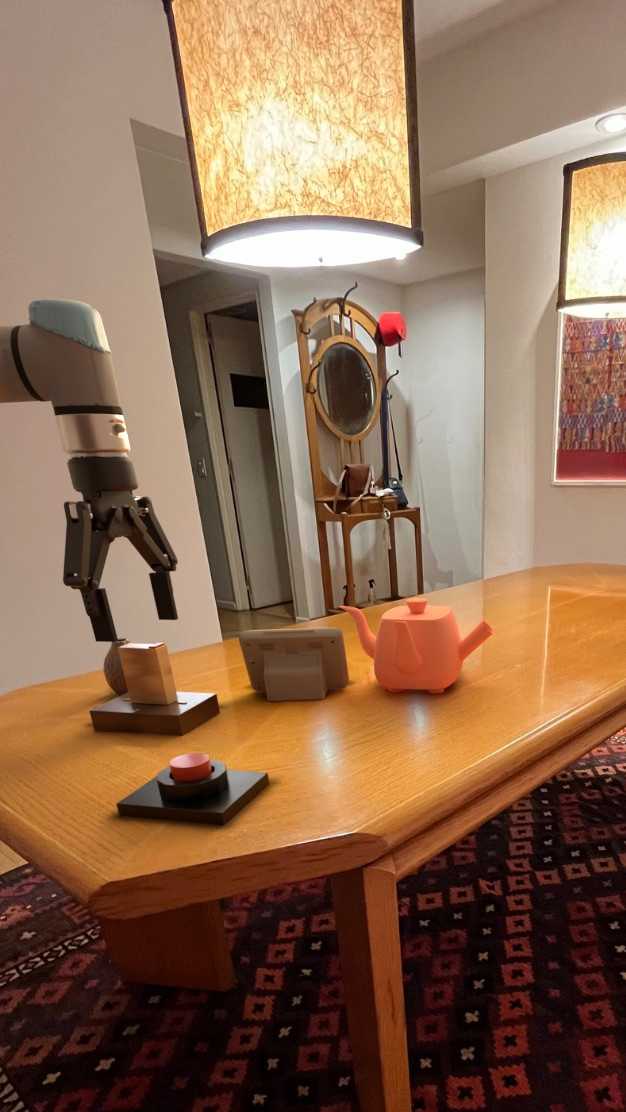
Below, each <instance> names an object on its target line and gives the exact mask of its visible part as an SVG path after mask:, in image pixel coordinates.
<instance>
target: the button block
mask: <svg viewBox="0 0 626 1112" xmlns="http://www.w3.org/2000/svg"><path fill="white" fill-rule="evenodd" d="M210 763H211V768H212V774H210V775H209V776H207V777H204V778H201V779H198V780H191V781H174V780H173V778H172V774H171V769H170V765H169V766H167V767H165V768H163V769H162V770H161V771H158V773H157V775H156V776H155V777H153V778H152V779H151V780H149V781H148V782H146V783H144V784H143V785H142V786H140V787H139V788H137V789H136V790H134V791H133V792H131V793H130V794H128V795H127V796H126V797H124V798H122V799H121V800H119V801H118V802H116V809H117V811H118V816H119V817H129V818H140V819H150V820H159V821H160V820H161V821H170V822H171V821H172V822H181V823H183V822H184V823H193V824H204V825H216V826H226V825H227V824H228V823H229V822H230V821H231V820H232V819H233V818H234V817H236V816H237V814H239V813H240V812H241V811H242V810H243V809H244V808H245V807H246V806H247V805H249V804H250V803H251V802H252V801H253V800H255V798H256V797H257V796H258V795H259V794H261V793H262V791H264V790H265V789H266V788H267V787H268V786H269V785H270V778H269V773H268V772H264V771H252V770H237V769H227V764H226V763H225V762H222V761H219V760H217V759H210Z"/></svg>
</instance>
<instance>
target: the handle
mask: <svg viewBox="0 0 626 1112" xmlns="http://www.w3.org/2000/svg"><path fill="white" fill-rule="evenodd" d="M118 651H119V655H120V659H121V663H122V667H123V671H124V676H125V680H126V684H127V688H128V692H129V696H130V700H131V703H143V704H162V705H169V704H170V703H172V702H174V701H176V700H178V698H177V693H176V692H177V688H176V683H175V679H174V674H173V669H172V664H171V661H170V655H169V651H168V646H167V644H165V642H157V643H133V642H130V643H129V644H126V645H123V646H121V647H118Z"/></svg>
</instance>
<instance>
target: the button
mask: <svg viewBox="0 0 626 1112" xmlns="http://www.w3.org/2000/svg"><path fill="white" fill-rule="evenodd" d="M210 760H211V758H210V756H209V755H208V754H206V753H201V752H191V753H185V754H181V755H178V756H176V757H173V758H172V759H170V760H169V766H170V769H171V774H172V778H173V780H174V781H191V780H198V779H201V778H204V777H207V776H209V775H210V774H212V768H211V763H210Z"/></svg>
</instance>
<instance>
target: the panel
mask: <svg viewBox="0 0 626 1112" xmlns="http://www.w3.org/2000/svg"><path fill="white" fill-rule="evenodd" d="M176 693H177V698H178V700H176V701H174V702H172V703H170V704H169V705H162V704H143V703H131V700H130V696H129V692H128V693H126V694H123V695H119V696H117V697H115V698H113V699H111V700H108V701H106V702H104V703H102V704H100V705H98V706H96V707H94V708H92V709H89V710H88V712H89V715H90V718H91V722H92V726H93V730H94V731H95V732H97V731H98V732H114V733H128V734H129V733H130V734H147V735H149V734H150V735H162V736H163V735H164V736H177V737H178V736H180V737H184V736H185V735H187V734H188V733H190V732H192V731H193V730H195V729H197V728H198V727H200V726H201V725H202V724H204V723H206V722H208V721H209V720H211V719H212V718H214V717H215V716H218V714H220V713H221V709H220V705H219V698H218V694H217V693H213V692H192V691H176Z"/></svg>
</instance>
